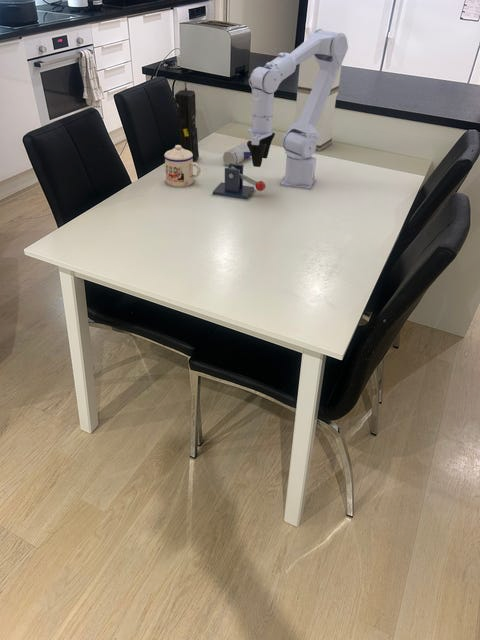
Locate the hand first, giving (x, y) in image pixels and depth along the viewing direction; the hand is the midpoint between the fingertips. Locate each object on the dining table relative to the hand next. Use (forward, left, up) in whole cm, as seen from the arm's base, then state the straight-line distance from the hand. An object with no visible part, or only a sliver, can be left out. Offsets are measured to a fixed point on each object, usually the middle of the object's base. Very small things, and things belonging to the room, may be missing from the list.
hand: (260, 162), depth 152 cm
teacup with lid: (+25, 0, -10) cm, 27 cm away
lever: (+4, +2, -7) cm, 8 cm away
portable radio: (+31, -19, -10) cm, 38 cm away
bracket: (+8, +2, -10) cm, 13 cm away
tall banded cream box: (-7, -53, -10) cm, 55 cm away
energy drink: (+16, -19, -8) cm, 26 cm away
